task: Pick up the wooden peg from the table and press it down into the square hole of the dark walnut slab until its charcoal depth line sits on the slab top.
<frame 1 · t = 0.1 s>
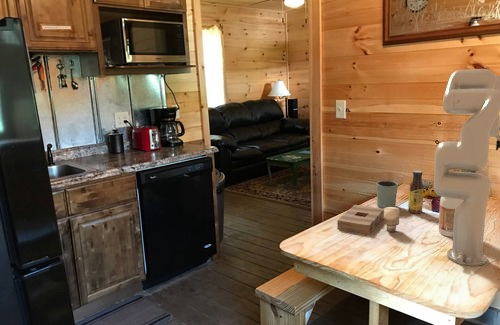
hand: (484, 149, 172), 31 cm above the table, tool pointing down, fingers open, 9 cm apart
wooden peg: (391, 230, 170), on the table
grey green cup: (386, 206, 199), on the table
sauce bottle: (415, 212, 190), on the table
fruit juice: (450, 233, 164), on the table
walnut slab: (361, 222, 180), on the table
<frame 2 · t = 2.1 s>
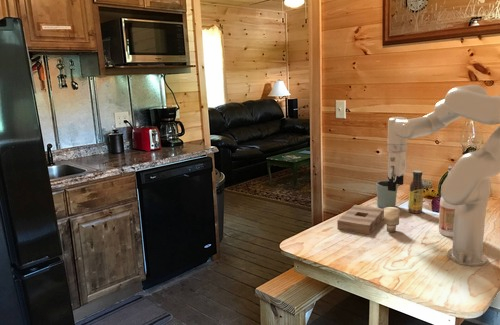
hand: (395, 187, 167), 19 cm above the table, tool pointing down, fingers open, 9 cm apart
nothing on the table moved.
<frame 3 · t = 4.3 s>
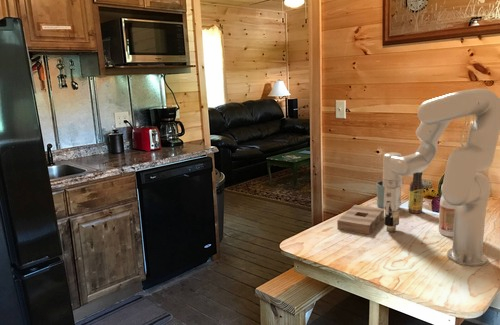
hand: (391, 222, 169), 4 cm above the table, tool pointing down, fingers closed on wooden peg, 6 cm apart
wooden peg: (391, 230, 170), on the table, touching gripper
everything else where it was.
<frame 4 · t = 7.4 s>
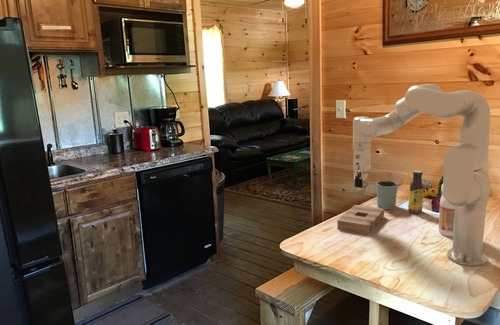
hand: (361, 184, 177), 18 cm above the table, tool pointing down, fingers closed on wooden peg, 6 cm apart
wooden peg: (361, 192, 177), point 14 cm above the table, touching gripper
everything else where it was.
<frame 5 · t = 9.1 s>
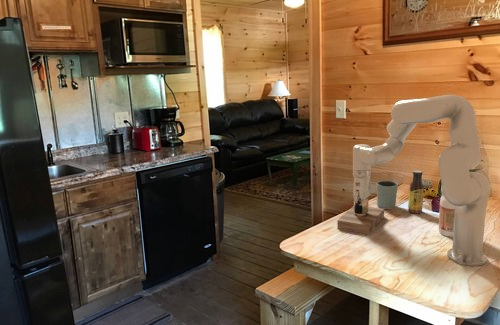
hand: (361, 210, 179), 6 cm above the table, tool pointing down, fingers closed on wooden peg, 6 cm apart
wooden peg: (361, 218, 180), point 2 cm above the table, touching gripper
everything else where it was.
when the fingers open (4 cm above the table, at t = 10.5 s): wooden peg stays where it is, resting on walnut slab.
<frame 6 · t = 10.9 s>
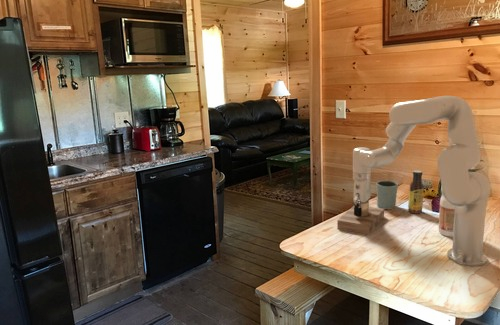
hand: (361, 212, 179), 5 cm above the table, tool pointing down, fingers open, 9 cm apart
wooden peg: (361, 221, 180), resting on walnut slab
everything else where it was.
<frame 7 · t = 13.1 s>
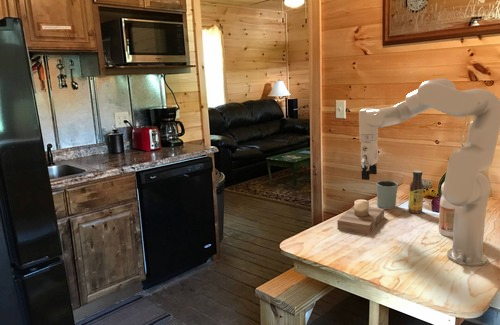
hand: (369, 176, 172), 22 cm above the table, tool pointing down, fingers open, 9 cm apart
nothing on the table moved.
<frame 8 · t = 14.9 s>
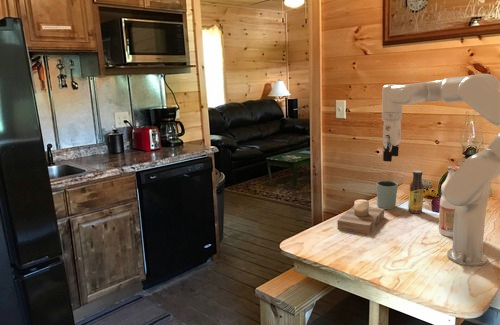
hand: (390, 158, 160), 32 cm above the table, tool pointing down, fingers open, 9 cm apart
nothing on the table moved.
at the end: wooden peg 0.0 cm off-centre on the walnut slab, point 0.5 cm above the walnut slab's base; wooden peg tilted 0°; the gripper is holding nothing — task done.
